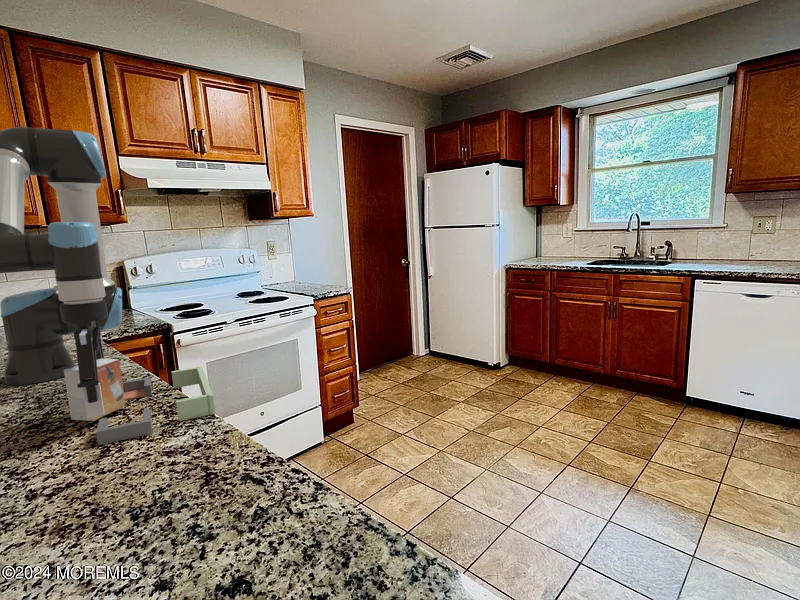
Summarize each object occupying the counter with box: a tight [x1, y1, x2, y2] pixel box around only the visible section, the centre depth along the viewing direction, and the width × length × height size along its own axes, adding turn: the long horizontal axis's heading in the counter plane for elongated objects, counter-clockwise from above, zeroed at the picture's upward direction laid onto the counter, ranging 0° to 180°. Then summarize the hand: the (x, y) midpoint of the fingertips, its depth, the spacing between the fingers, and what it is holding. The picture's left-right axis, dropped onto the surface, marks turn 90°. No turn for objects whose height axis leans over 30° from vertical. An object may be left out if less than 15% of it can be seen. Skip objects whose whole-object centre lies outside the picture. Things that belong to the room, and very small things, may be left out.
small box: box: [63, 358, 126, 422], centre depth 89 cm, size 8×6×10 cm
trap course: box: [95, 366, 216, 446], centre depth 95 cm, size 30×20×4 cm
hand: (99, 407), depth 90 cm, fingers closed on small box, 9 cm apart
